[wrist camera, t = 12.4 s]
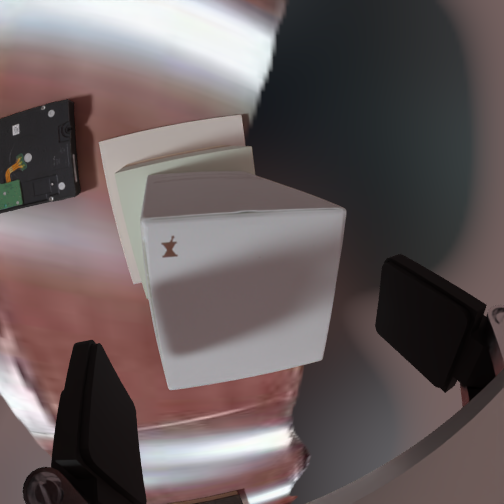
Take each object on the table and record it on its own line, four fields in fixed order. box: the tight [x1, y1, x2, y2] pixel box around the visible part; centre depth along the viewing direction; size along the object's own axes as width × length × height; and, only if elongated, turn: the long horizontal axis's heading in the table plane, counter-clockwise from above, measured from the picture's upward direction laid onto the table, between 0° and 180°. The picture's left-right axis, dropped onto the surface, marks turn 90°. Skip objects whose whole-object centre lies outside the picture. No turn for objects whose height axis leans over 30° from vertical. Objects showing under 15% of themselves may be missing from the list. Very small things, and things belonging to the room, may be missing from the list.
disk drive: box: [0, 99, 81, 213], centre depth 23 cm, size 10×3×15 cm
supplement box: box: [140, 171, 346, 390], centre depth 16 cm, size 7×7×13 cm
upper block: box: [114, 146, 255, 299], centre depth 24 cm, size 10×10×5 cm
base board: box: [99, 115, 245, 284], centre depth 31 cm, size 16×15×1 cm
